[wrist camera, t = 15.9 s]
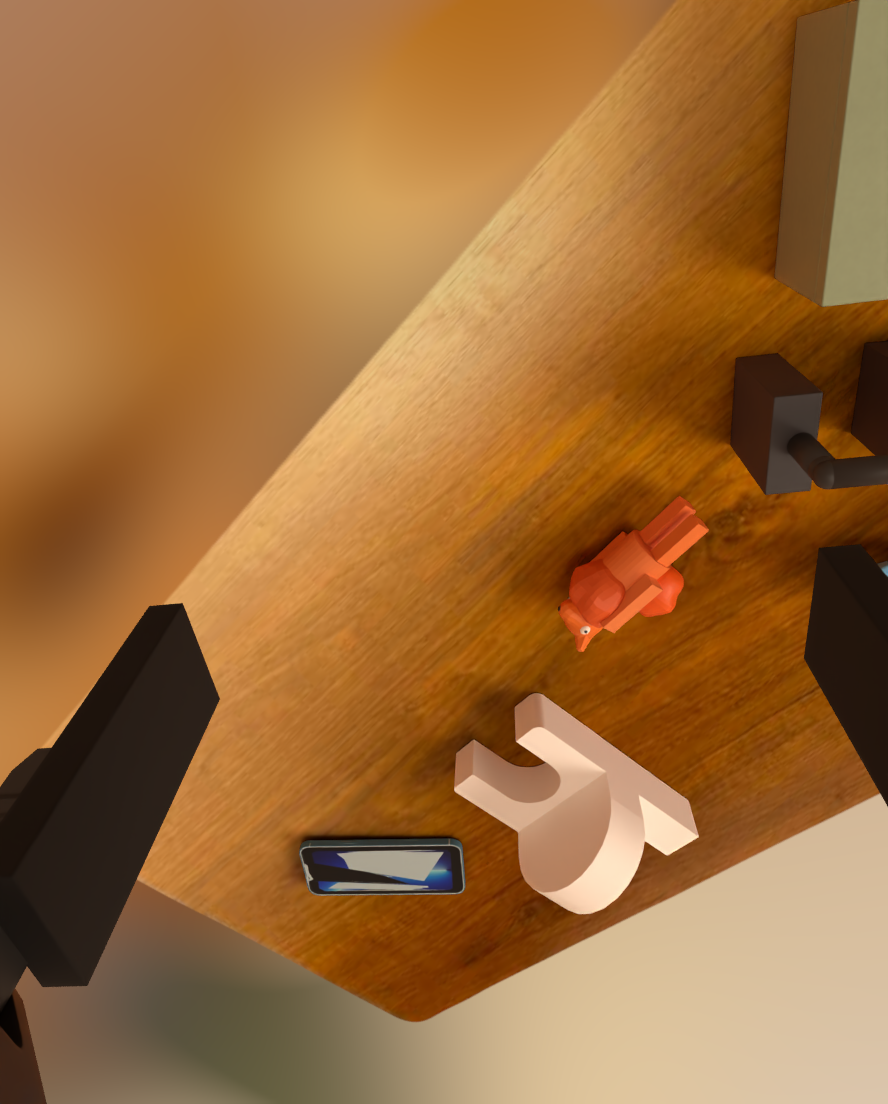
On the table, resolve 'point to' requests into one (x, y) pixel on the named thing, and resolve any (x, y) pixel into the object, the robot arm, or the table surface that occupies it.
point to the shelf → (837, 158)
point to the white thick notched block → (574, 807)
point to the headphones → (806, 425)
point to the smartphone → (383, 866)
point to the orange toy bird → (631, 575)
